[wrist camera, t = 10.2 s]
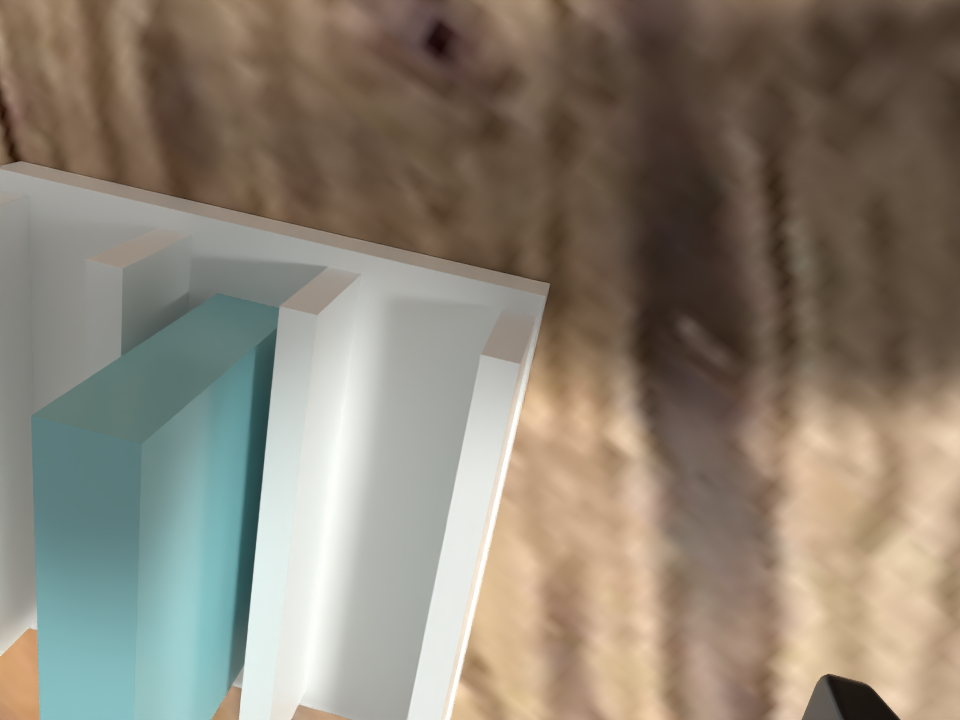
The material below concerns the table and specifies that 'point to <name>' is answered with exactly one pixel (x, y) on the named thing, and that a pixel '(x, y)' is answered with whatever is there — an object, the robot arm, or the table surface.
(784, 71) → the table surface
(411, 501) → the dish rack
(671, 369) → the table surface
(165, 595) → the light blue block
